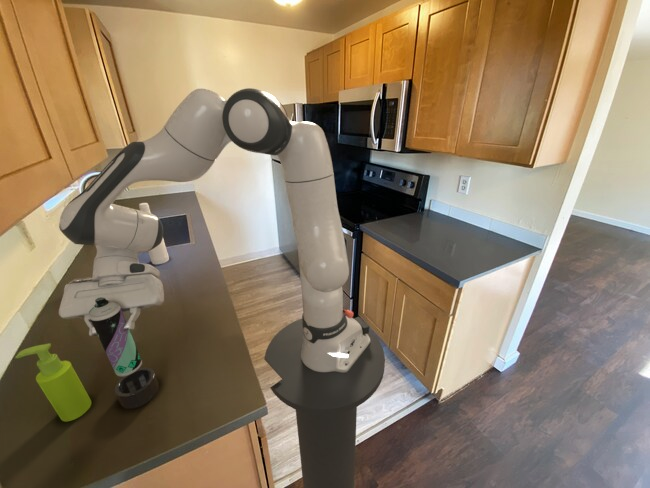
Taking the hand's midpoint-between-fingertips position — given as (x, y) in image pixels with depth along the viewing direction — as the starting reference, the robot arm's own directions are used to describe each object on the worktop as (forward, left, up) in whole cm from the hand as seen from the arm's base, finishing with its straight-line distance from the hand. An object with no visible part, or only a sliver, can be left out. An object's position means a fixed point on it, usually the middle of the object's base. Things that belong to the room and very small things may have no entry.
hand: (112, 332), depth 62 cm
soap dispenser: (+13, -7, -21) cm, 25 cm away
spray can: (0, -1, -12) cm, 12 cm away
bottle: (-24, -81, -21) cm, 87 cm away
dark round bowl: (0, -1, -21) cm, 21 cm away
